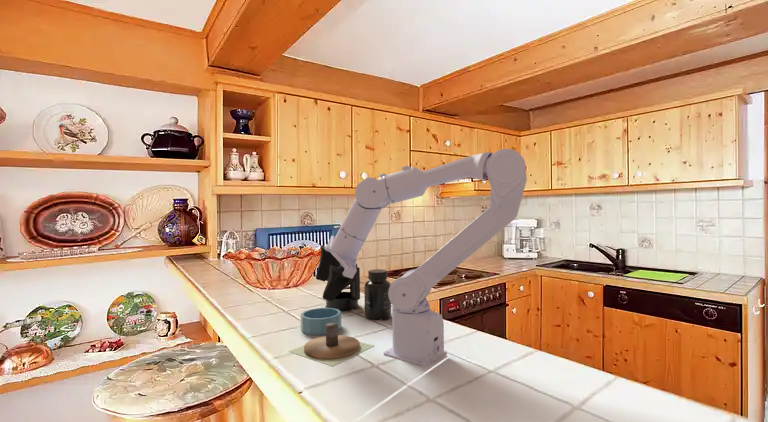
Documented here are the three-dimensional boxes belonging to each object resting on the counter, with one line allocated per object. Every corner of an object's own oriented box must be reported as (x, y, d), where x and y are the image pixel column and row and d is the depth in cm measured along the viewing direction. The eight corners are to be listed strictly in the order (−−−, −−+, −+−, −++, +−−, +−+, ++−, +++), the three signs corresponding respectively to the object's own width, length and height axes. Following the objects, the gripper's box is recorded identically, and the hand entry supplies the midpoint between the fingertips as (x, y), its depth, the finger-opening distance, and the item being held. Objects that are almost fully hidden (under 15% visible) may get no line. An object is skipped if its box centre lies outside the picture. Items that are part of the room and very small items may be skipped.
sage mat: (374, 347, 79) (374, 345, 79) (332, 367, 69) (332, 366, 69) (332, 335, 86) (332, 334, 86) (288, 352, 77) (288, 351, 77)
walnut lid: (370, 345, 79) (370, 322, 79) (332, 364, 70) (331, 338, 70) (332, 335, 85) (331, 313, 85) (292, 351, 77) (291, 327, 77)
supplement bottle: (359, 319, 98) (358, 272, 98) (373, 312, 104) (372, 267, 104) (383, 323, 95) (383, 273, 94) (396, 315, 101) (395, 269, 100)
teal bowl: (348, 328, 91) (348, 311, 91) (320, 339, 84) (320, 321, 84) (321, 321, 97) (321, 305, 97) (293, 332, 90) (292, 314, 89)
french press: (316, 307, 110) (315, 226, 109) (341, 300, 117) (340, 224, 116) (345, 314, 102) (344, 227, 101) (370, 307, 109) (368, 225, 108)
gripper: (328, 213, 83) (301, 266, 85) (344, 242, 70) (311, 304, 73) (356, 224, 86) (329, 275, 89) (376, 254, 73) (344, 312, 76)
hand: (323, 289), depth 81 cm, fingers open, 7 cm apart
